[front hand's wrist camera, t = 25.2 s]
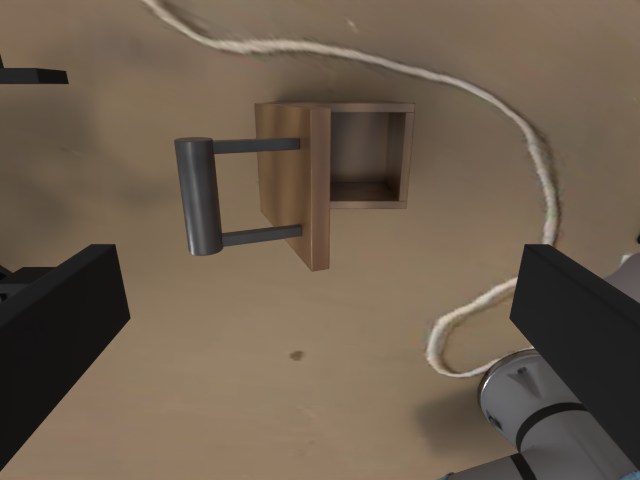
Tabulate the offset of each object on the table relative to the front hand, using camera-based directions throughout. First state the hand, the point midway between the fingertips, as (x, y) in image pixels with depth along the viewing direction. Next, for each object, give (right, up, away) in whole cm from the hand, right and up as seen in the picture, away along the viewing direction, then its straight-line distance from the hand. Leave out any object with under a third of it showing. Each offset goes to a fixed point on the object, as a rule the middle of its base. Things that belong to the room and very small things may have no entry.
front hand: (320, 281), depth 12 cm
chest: (+2, +13, +34) cm, 36 cm away
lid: (-2, +7, +17) cm, 19 cm away
